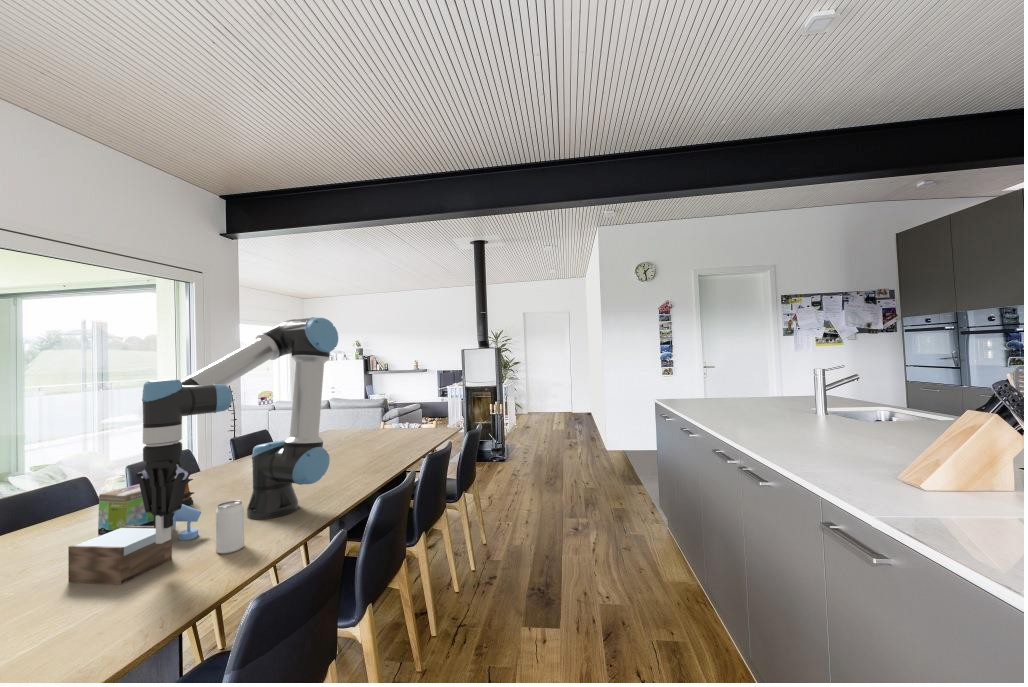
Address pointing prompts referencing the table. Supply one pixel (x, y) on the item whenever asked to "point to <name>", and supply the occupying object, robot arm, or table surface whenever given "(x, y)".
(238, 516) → the can
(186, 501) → the mug
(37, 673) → the table surface
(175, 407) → the robot arm
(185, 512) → the spotlight
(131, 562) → the walnut box
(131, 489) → the tea box
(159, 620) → the table surface
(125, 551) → the cover plate
